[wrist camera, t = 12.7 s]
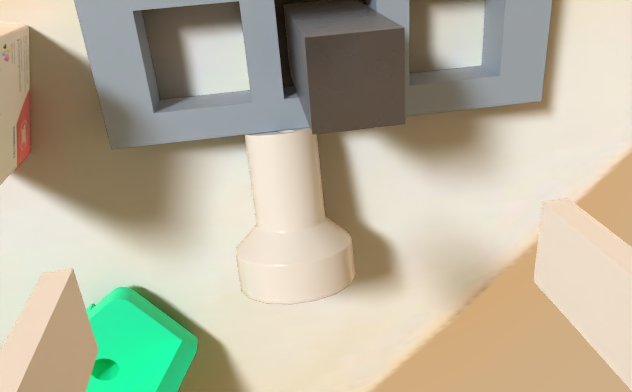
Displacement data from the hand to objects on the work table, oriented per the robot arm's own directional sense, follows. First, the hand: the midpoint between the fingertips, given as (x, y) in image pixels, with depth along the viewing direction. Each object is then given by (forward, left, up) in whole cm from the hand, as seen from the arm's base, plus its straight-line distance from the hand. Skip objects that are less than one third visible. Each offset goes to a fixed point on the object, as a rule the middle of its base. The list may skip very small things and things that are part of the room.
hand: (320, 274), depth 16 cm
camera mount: (-15, -20, -24) cm, 35 cm away
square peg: (+3, +2, -24) cm, 24 cm away
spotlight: (0, -9, -24) cm, 26 cm away
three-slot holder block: (+3, +2, -24) cm, 24 cm away
